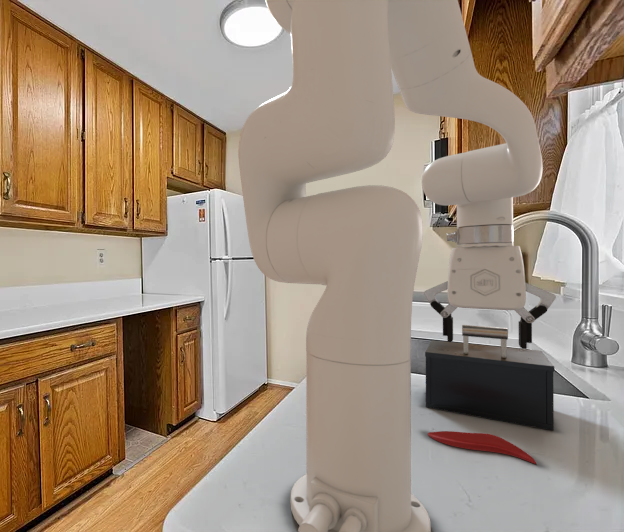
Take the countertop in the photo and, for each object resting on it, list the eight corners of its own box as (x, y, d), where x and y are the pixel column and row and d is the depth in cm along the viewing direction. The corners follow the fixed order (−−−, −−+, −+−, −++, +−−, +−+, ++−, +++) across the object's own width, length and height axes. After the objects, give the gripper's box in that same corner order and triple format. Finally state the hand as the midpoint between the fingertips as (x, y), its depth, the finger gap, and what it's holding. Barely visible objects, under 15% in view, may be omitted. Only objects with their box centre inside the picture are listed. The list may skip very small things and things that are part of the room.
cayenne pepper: (539, 457, 47) (539, 442, 47) (533, 471, 43) (533, 455, 44) (435, 427, 55) (435, 414, 55) (423, 437, 52) (423, 423, 52)
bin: (553, 430, 54) (553, 370, 54) (425, 407, 64) (425, 356, 64) (541, 406, 64) (541, 355, 64) (431, 389, 73) (431, 344, 73)
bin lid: (554, 371, 54) (554, 333, 54) (425, 356, 63) (425, 323, 63) (541, 355, 64) (541, 322, 64) (431, 344, 73) (431, 315, 73)
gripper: (421, 239, 62) (422, 342, 62) (559, 234, 52) (560, 355, 52) (426, 242, 68) (426, 334, 68) (550, 237, 59) (551, 345, 59)
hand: (484, 343), depth 60 cm, fingers open, 9 cm apart
